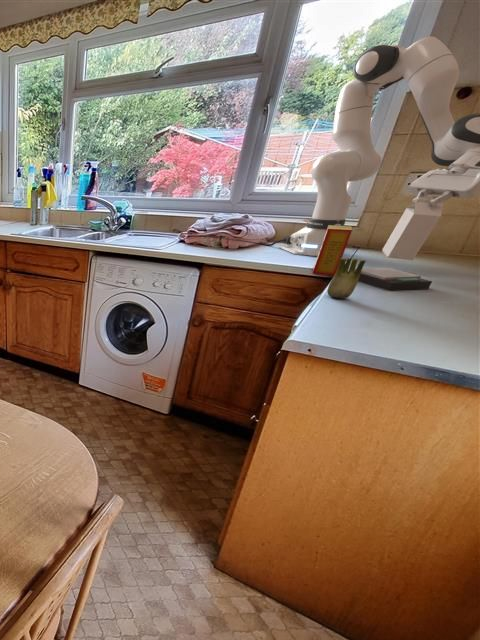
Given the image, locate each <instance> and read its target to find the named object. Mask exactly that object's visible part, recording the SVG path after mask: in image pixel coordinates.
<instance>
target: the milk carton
mask: <svg viewBox="0 0 480 640" xmlns="http://www.w3.org/2000/svg"><path fill="white" fill-rule="evenodd" d="M432 199H433V198H422V199H421V198H417V200H416V202H414V203H413V202H412V203H411V204H410V205H408V206H407V207H405V210H404V211H403V213H402V215H401V217H400V218H399V220H398V222H397V224H396V225H395V226H394V229H393V230H392V231H391V234H390V236H389V237H388V238H387V241H386V243H385V244H384V246H383V247H382V249H381V252H382V253H383V254H384V255H385V256H386V257H387V258H389V259H398V260H408V261H414V259H415V258H416V256H417V255H418V253H419V251H421V249H422V247H423V245H424V244H425V242H426V241H427V239H428V238H429V236H430V234H431V233H432V231H433V230H434V228H435V226H436V225H437V224H438V222H439V220H440V219H441V217H442V213H443V207H444V203H445V201H443V202H441V203H439V204H437V205H436V206H430V205H429V201H431V200H432Z"/></svg>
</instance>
